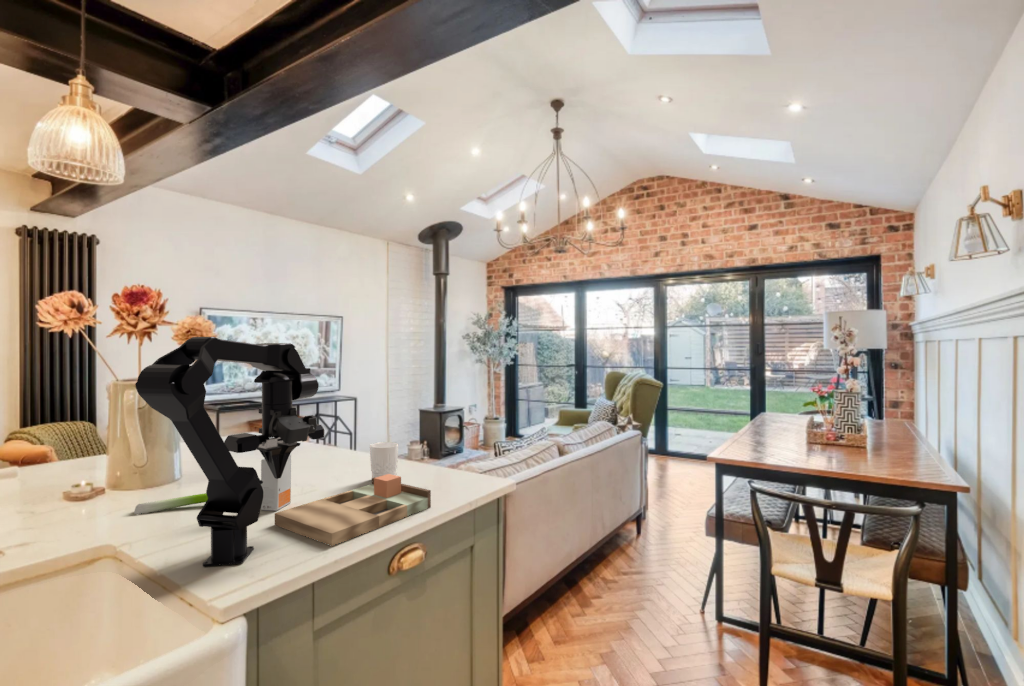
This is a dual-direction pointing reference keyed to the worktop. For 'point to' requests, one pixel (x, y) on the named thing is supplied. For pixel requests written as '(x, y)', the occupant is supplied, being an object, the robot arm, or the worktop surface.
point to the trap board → (352, 513)
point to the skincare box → (275, 487)
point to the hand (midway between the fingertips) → (277, 478)
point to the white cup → (384, 458)
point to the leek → (170, 503)
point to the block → (387, 485)
